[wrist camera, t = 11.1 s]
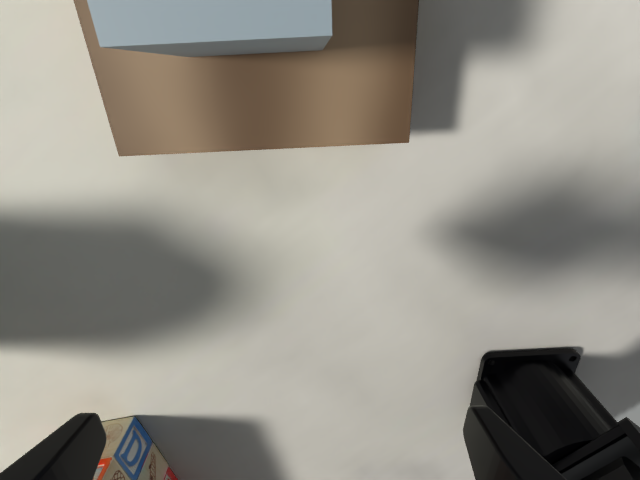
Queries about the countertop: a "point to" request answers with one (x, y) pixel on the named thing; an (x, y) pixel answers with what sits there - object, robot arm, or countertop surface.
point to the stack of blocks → (130, 454)
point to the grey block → (212, 26)
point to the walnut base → (266, 89)
